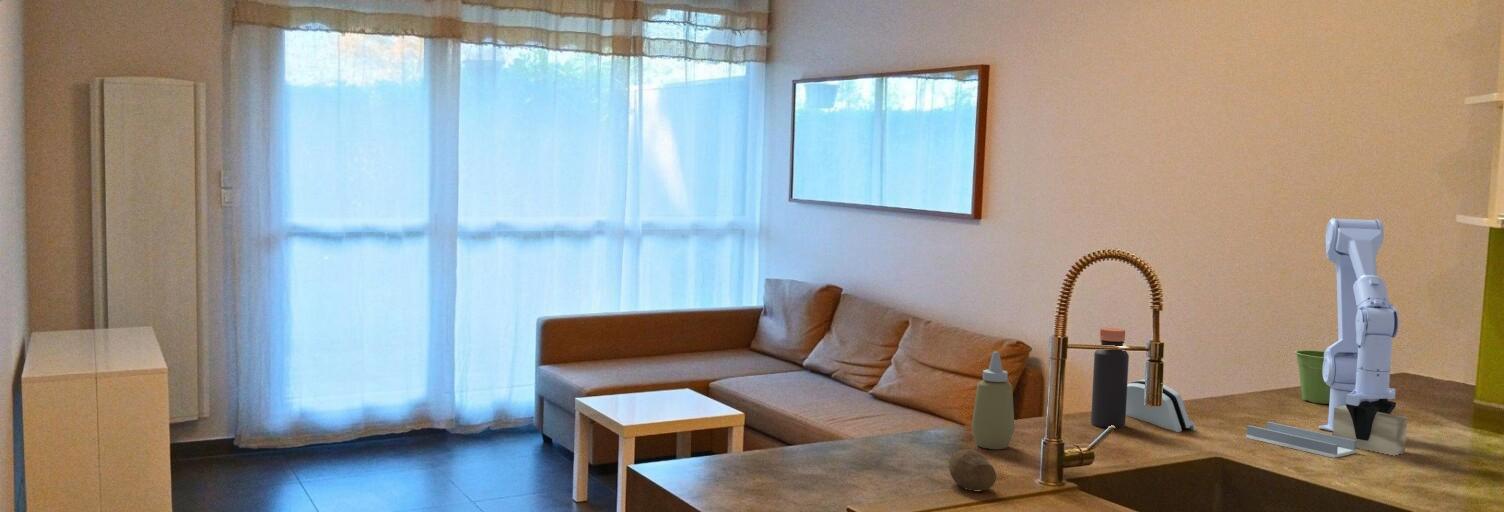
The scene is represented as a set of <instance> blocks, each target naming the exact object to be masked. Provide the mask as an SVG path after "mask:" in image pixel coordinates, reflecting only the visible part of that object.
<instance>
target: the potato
mask: <svg viewBox="0 0 1504 512" xmlns="http://www.w3.org/2000/svg"><path fill="white" fill-rule="evenodd" d="M948 462H949V463H948V467H949V468H948V470H949V474H950V476H951V479H953V480H954V483H956V484H957V485H958V486H960V487H961V488H963V487H964V489H965V488H967V489H971V490H984V491H986V490H989V489H990V488H991V487H993V486H994V485H995V483H996V481H997V474H996V470H995V468H994V467H993V465H992V464H990V462H989V461H988V460H987V458H986V456H985V455H984V454H983V453H981V452H979V451H978V450H975V449H969V448H968V449H961V450H958V451H956V452H955V453H954V454H953V455H952V456H951V458H950V460H949V461H948ZM967 489H966V490H967ZM971 490H970V491H971Z"/></svg>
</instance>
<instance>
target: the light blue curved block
mask: <svg viewBox="0 0 1504 512" xmlns="http://www.w3.org/2000/svg"><path fill="white" fill-rule="evenodd" d="M1145 380H1146V379H1140V380H1134V381H1131V382H1130V383H1127V400H1126V417H1131V418H1135V419H1136V418H1137V419H1136V420H1139V419H1141V420H1140V421H1142V420H1143V421H1142V422H1145V421H1146V423H1148V422H1150V423H1149V424H1151V423H1152V424H1151V425H1154V424H1156V425H1155V426H1157V425H1158V427H1160V426H1162V427H1161V428H1163V427H1164V428H1163V429H1166V428H1167V429H1166V430H1169V429H1170V430H1169V431H1172V430H1173V431H1172V432H1175V431H1176V432H1175V433H1181V432H1182V431H1183V428H1184V429H1187V428H1188V430H1190V429H1191V431H1194V432H1195V431H1196V425H1195V422H1194V421H1191V420H1190V419H1189V416H1188V413H1187V411H1186V410H1187V409H1186V407H1185V404H1184V401H1183V399H1182V396H1181V394H1180V393H1179V392H1177V391H1176V390H1174V389H1173V388H1171V387H1170V386H1168V385H1165V384H1163V383H1162V384H1163V392H1162V406H1161V407H1146V406H1145V405H1144V388H1145Z"/></svg>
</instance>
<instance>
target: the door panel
mask: <svg viewBox="0 0 1504 512" xmlns="http://www.w3.org/2000/svg"><path fill="white" fill-rule="evenodd" d="M1407 428H1408V417H1407V416H1401V415H1396V414H1392V413H1390V414H1386V413H1381V412H1377V413H1376V415H1375V417H1374V420H1373V423H1372V428H1371V434H1370V437H1369V440H1368V441H1365V440H1360V439H1356V435H1355V430H1354V425H1353V421H1352V418H1351V415H1350V413H1349V411H1348V409H1347V407H1346V406H1341V407H1336V408H1334V422H1333V431H1332V435H1334V436H1338V437H1343V438H1348V439H1352V440H1357V447H1356V449H1359V448H1360V449H1361V450H1364V449H1365V451H1368V450H1370V451H1369V452H1373V451H1375V452H1374V453H1377V452H1379V453H1378V454H1382V453H1384V454H1383V455H1386V454H1389V455H1388V456H1391V455H1393V456H1392V457H1396V456H1395V455H1397V456H1400V455H1399V454H1401V455H1404V454H1403V453H1405V452H1406V439H1407ZM1405 454H1406V453H1405Z"/></svg>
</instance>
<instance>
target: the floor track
mask: <svg viewBox="0 0 1504 512" xmlns="http://www.w3.org/2000/svg"><path fill="white" fill-rule="evenodd" d="M1245 438H1247V439H1250V440H1255V441H1258V442H1264V443H1269V444H1272V445H1276V446H1280V447H1285V448H1290V449H1294V450H1298V451H1302V452H1306V453H1311V454H1314V455H1321V456H1325V457H1328V458H1333V459H1335V458H1340V457H1345V456H1349V455H1353V454H1357V453H1358V449H1357V448H1356V447H1357V440H1352V439H1348V438H1343V437H1338V436H1334V435H1333V434H1330V433H1329V434H1327V433H1323V432H1319V431H1314V430H1310V429H1305V428H1300V427H1297V426H1292V425H1286V424H1282V423H1278V422H1272V421H1266V427H1259V426H1254V425H1247V426H1246V434H1245Z"/></svg>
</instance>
